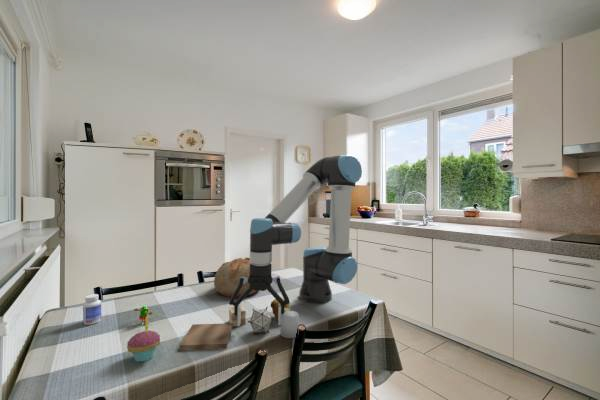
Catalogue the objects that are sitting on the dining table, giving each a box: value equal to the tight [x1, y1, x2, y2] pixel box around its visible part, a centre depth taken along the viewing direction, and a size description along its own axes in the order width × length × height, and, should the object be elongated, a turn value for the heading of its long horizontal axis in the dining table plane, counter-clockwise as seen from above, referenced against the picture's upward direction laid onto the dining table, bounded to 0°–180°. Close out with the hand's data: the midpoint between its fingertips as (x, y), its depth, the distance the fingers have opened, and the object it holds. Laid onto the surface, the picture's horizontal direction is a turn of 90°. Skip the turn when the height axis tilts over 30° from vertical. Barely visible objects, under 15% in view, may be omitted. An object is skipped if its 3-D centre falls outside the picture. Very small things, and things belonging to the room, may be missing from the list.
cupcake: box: [126, 312, 161, 363], centre depth 83 cm, size 9×8×12 cm
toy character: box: [133, 306, 154, 326], centre depth 105 cm, size 11×12×7 cm
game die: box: [247, 306, 275, 336], centre depth 99 cm, size 9×8×10 cm
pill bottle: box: [82, 293, 102, 326], centre depth 105 cm, size 5×5×10 cm
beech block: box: [228, 305, 247, 327], centre depth 107 cm, size 5×5×5 cm
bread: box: [213, 257, 258, 298], centre depth 144 cm, size 26×23×15 cm
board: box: [179, 322, 234, 351], centre depth 95 cm, size 14×14×2 cm
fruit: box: [270, 296, 291, 321], centre depth 110 cm, size 8×8×8 cm
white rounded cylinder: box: [280, 310, 300, 339], centre depth 98 cm, size 6×6×7 cm
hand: (259, 324), depth 99 cm, fingers open, 13 cm apart
